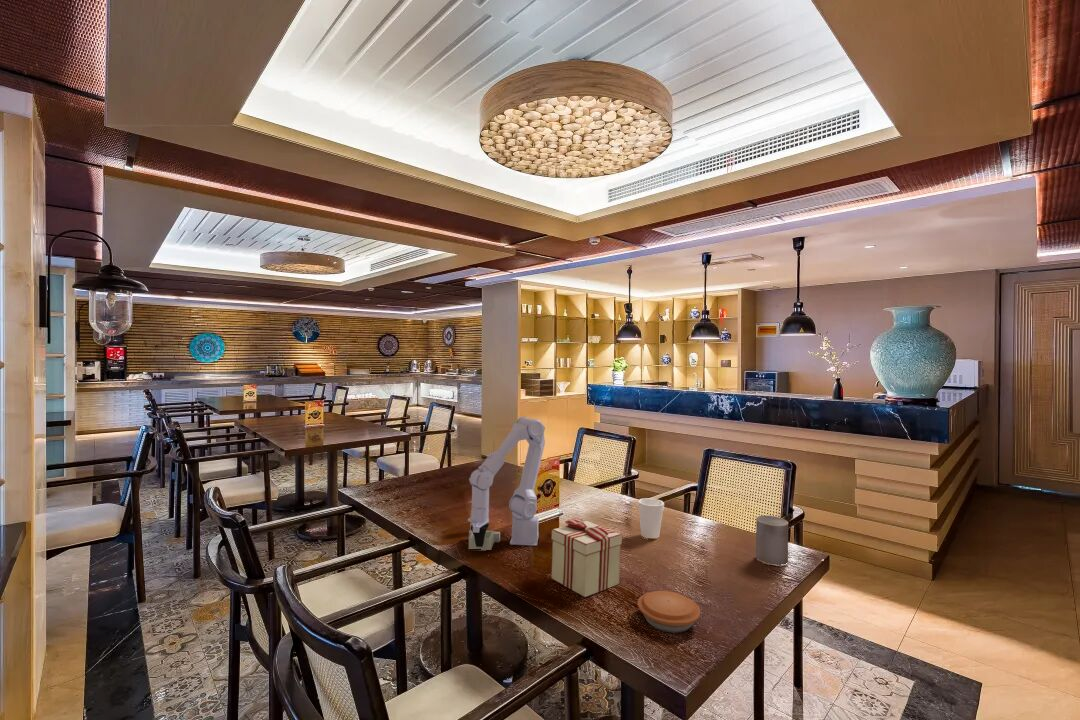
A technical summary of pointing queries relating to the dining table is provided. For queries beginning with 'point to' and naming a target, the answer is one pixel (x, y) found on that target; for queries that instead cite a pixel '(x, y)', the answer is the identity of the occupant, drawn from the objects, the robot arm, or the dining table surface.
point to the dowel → (470, 522)
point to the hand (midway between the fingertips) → (479, 546)
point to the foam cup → (650, 516)
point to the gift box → (585, 556)
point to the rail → (496, 536)
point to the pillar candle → (772, 539)
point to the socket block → (487, 541)
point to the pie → (668, 610)
